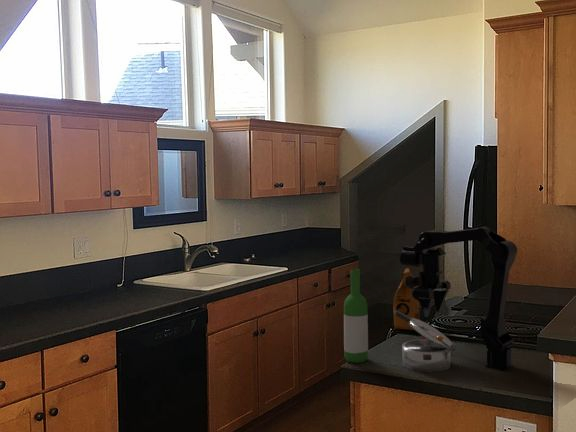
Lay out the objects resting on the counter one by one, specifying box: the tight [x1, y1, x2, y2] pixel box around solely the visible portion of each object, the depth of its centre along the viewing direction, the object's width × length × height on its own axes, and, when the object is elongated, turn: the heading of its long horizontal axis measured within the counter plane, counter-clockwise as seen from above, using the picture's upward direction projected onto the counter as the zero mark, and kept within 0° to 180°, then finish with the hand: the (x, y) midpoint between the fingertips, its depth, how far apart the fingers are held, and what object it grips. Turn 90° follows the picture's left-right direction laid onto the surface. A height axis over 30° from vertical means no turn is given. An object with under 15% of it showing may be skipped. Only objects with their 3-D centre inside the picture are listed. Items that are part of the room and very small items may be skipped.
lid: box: [395, 310, 457, 351], centre depth 207 cm, size 21×15×2 cm
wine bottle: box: [343, 268, 369, 364], centre depth 212 cm, size 8×8×30 cm
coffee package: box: [393, 267, 420, 331], centre depth 254 cm, size 10×12×22 cm
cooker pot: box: [401, 338, 451, 373], centre depth 208 cm, size 15×19×6 cm
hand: (432, 314), depth 218 cm, fingers open, 9 cm apart
